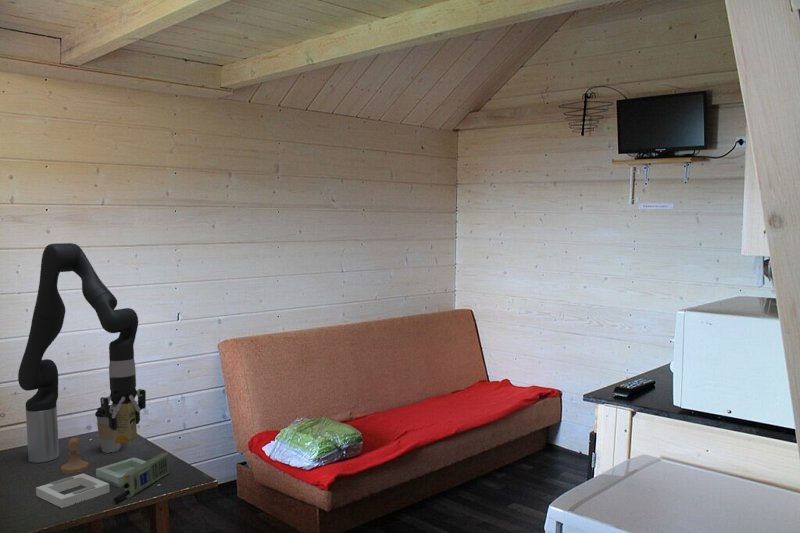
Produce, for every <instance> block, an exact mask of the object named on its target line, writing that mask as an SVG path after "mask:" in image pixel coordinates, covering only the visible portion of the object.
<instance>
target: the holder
mask: <svg viewBox="0 0 800 533" xmlns="http://www.w3.org/2000/svg"><path fill="white" fill-rule="evenodd" d="M81 486H82V488H80V489H78V490H74V491H71V492H70V493H66V494H63V493H61V492H63V491H68V490H70V489H73V488H77V487H81ZM110 489H111V488H110V484H108V483H106V482H104V481H101V480H99V479H96V477H93V476H91V475H88V474H86V473H80V474H76V475H73V476H68V477H64V478H60V479H58V480H55V481H51V482H50V483H47V484H43V485H40V486H37V487H35V492H36V494H35V495H36V497H38V498H40V499H42V500H43V501H46V502H49V503H50V504H53V505H54V506H56V507H58V508H61V509H64V508H67V507H69V506H72V505H76V504H80V503H82V502H84V500H85V501H88V500H91V499H93V498H97V497H101V496H103V495H105V494H108V493H110V492H111V491H110ZM81 501H82V502H81ZM75 503H76V504H75Z"/></svg>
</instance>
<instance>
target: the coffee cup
mask: <svg viewBox="0 0 800 533" xmlns="http://www.w3.org/2000/svg"><path fill="white" fill-rule="evenodd" d="M110 406H111V404H109V411H110ZM96 410H97V411H96V412H95V414H94V415H95V417H96V421H97V422H96V425H97V431H98V438H99V441H100V447H101V451H102V453H104V452H105V454H109V453H110V452H112V453H115V451H116V452H118V450H119V449H120V450H121V446H122V445H121V444H122V443H114V430H111V428H109V418H107V417H103V416H102V412H101V406H100V407H98V408H97V409H96ZM120 450H119V451H120ZM110 454H111V453H110Z"/></svg>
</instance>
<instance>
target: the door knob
mask: <svg viewBox="0 0 800 533" xmlns="http://www.w3.org/2000/svg"><path fill="white" fill-rule="evenodd" d="M67 448H68V449H69V451H70V452H69V453H68V455H69V459H68V461H67V462H66V463H65V464H63V465H62V466H60V471H61V473H63V474H66V475H67V474H78V473H81V472H84V471H87V470H88V469H89V467H90V466H89V464H90V463H89V462H88V461H84V460H83V459H81V457H80V455H79V454H80V451H78V450H79V448H80V439H79V437H70V439H69V440H68V445H67ZM77 472H78V473H77Z"/></svg>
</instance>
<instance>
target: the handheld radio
mask: <svg viewBox="0 0 800 533" xmlns="http://www.w3.org/2000/svg"><path fill="white" fill-rule="evenodd" d="M169 462H170V461H169V452H161V453H159V454H157V455H155V456H154V457H152V458H150V459H149V460H147V461H146V462H145V463H143V464H141V465H140V466H138V467H136V468H134V469H133V470H131V471H129V472H127V473H125V474H124V475H123V476H124V481H125V485H124V486H123V488H124V492H123V493H121V494H119V495H117V496H116V497H114V498H113V501H114V502H115V503H118V502H119V501H121V500H122V499H124V498H127V499H128V498H131V497H133V496H135V495H136V494H138V493H139V492H141V491H143V490H144V489H146V488H148V487H149V486H151V485H152V484H154V483H156V482H158V481H159V480H161V479H162V478H164V477H165V476H167V475H169V474H170V463H169Z"/></svg>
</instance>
